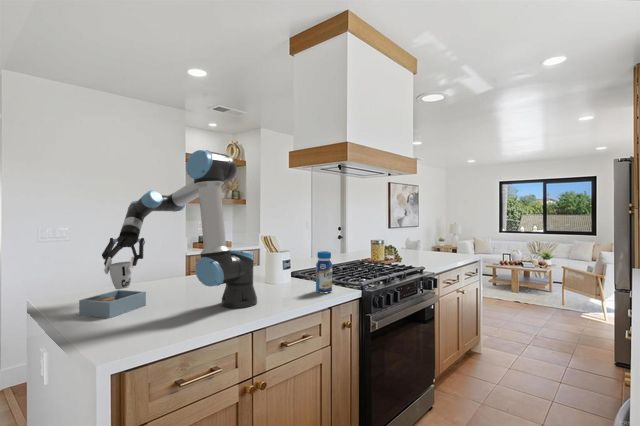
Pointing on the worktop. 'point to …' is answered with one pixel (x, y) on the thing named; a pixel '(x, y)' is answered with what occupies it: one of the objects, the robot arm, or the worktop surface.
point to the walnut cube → (105, 299)
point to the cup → (120, 275)
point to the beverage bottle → (324, 272)
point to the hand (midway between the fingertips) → (117, 271)
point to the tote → (112, 303)
